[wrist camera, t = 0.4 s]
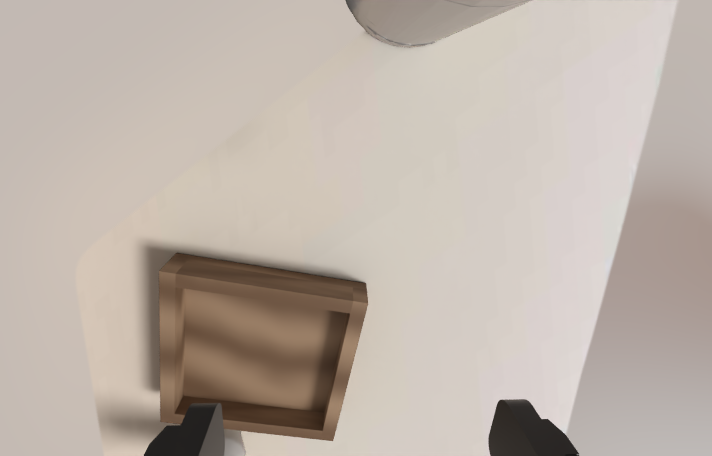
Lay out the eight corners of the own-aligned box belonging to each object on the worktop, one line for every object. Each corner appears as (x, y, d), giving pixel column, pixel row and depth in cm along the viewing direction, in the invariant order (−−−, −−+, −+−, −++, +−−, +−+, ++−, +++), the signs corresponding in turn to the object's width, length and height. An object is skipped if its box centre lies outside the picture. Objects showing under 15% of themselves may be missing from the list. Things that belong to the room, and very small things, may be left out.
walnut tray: (176, 253, 29) (158, 271, 26) (365, 283, 31) (368, 303, 28) (175, 394, 35) (160, 421, 32) (333, 413, 37) (333, 441, 34)
